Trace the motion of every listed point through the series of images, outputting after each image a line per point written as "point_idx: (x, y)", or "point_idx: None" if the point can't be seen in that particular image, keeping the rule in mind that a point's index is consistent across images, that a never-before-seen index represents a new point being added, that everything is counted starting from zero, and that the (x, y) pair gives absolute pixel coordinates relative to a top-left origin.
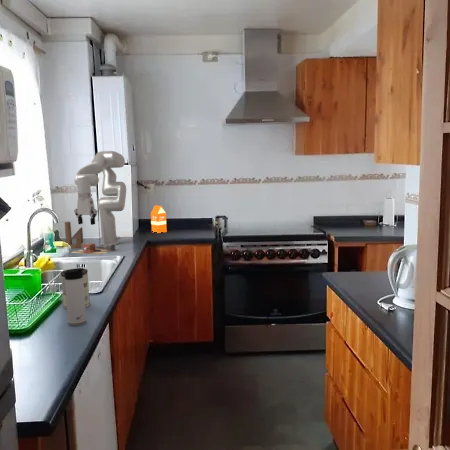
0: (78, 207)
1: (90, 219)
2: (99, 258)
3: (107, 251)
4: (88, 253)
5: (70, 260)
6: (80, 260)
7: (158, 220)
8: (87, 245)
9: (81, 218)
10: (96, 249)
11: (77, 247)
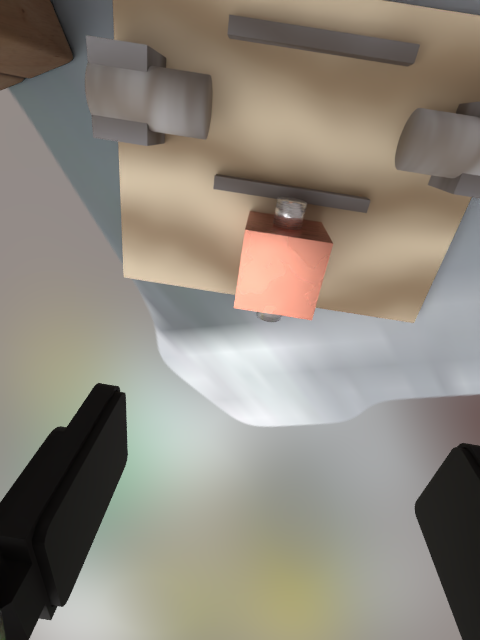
0: None
1: (464, 638)
2: (423, 364)
3: (438, 198)
4: None
5: (259, 419)
6: (320, 415)
7: None
8: (288, 313)
9: (65, 525)
10: (320, 196)
11: (19, 72)
